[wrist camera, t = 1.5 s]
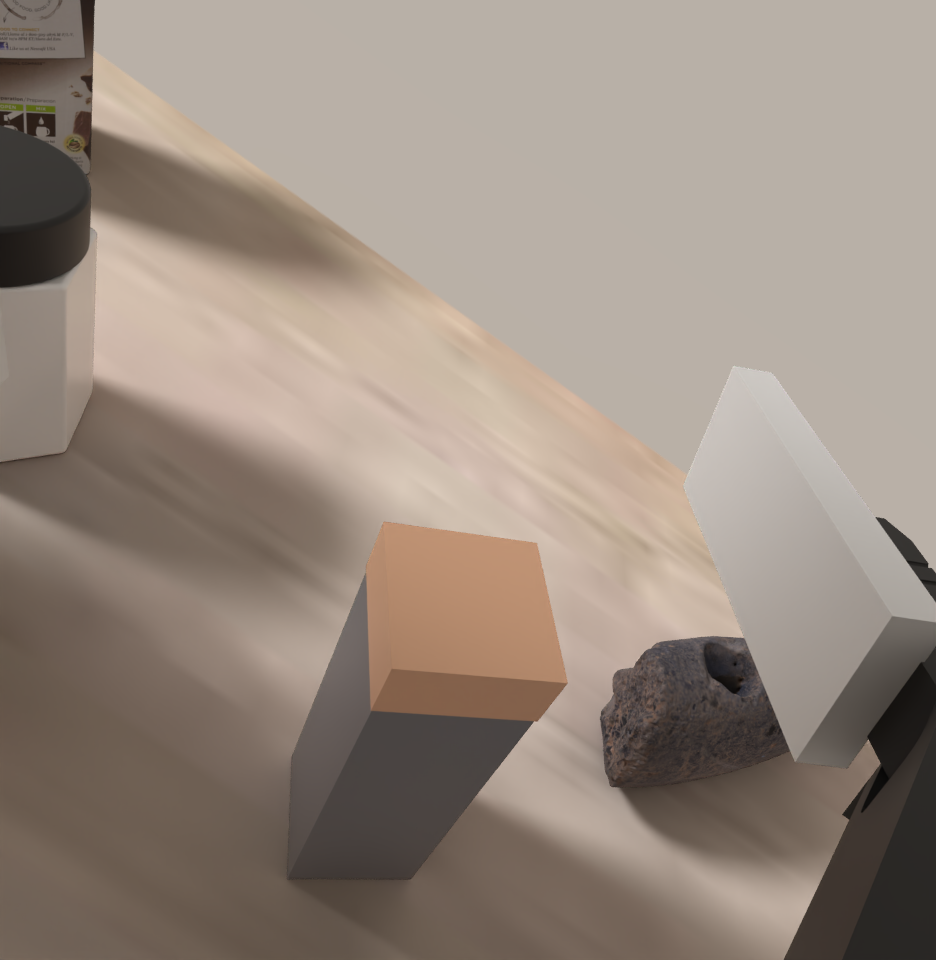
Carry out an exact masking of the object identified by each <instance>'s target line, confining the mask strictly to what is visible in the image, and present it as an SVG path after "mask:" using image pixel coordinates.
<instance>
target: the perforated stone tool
mask: <svg viewBox="0 0 936 960" xmlns="http://www.w3.org/2000/svg"><path fill="white" fill-rule="evenodd" d="M613 692H614V695H613V696H612V699H611V700H610V702H609V703H608V704H607V705H606V706H605V707H604V709H603V710H602V711H601V717H600V721H601V728H602V735H603V746H604V750H603V751H604V764H605V772H606V774H607V776H608V779H609V783H610V786H611V787H648V786H658V785H667V784H676V783H681V782H687V781H692V780H697V779H702V778H706V777H711V776H716V775H720V774H724V773H728V772H732V771H735V770H738V769H742V768H745V767H749V766H752V765H754V764H758V763H760V762H763V761H766V760H769V759H771V758H774V757H776V756H779V755H781V754H784V753H786V752H789V751H790V749H789V747H788V744H787V742H786V739H785V737H784V734H783V732H782V729H781V727H780V724H779V722H778V719H777V717H776V715H775V712H774V710H773V707H772V705H771V702H770V700H769V697H768V695H767V692H766V690H765V687H764V685H763V682H762V680H761V678H760V675H759V673H758V670H757V668H756V665H755V663H754V660H753V658H752V655H751V653H750V650H749V648H748V645H747V643H746V641H745V638H733V637H718V636H710V637H698V638H690V639H681V640H672V641H664V642H660V643H656V644H655V645H654V646H653V647H652V648H651V649H648V650H646V651H645V652H644V653H643V654H642V655H641V657H640V658H639V660H638V661H637V662H636V664H635V667H634V668H629V669H621V670H618V671H617V672H616V673H615V674H614V677H613Z"/></svg>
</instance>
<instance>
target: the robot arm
mask: <svg viewBox="0 0 936 960" xmlns="http://www.w3.org/2000/svg"><path fill="white" fill-rule="evenodd" d="M8 377H9V370H8V363H7V355H6V347H5V339H4V332H3V324H2V316H1V309H0V385H1V384H2V383H3V382H4V381H5V380H6V379H7V378H8ZM683 488H684V490H685V492H686V495H687V497H688V500H689V502H690V505H691V507H692V510H693V512H694V515H695V517H696V520H697V522H698V525H699V527H700V529H701V532H702V534H703V537H704V539H705V542H706V544H707V547H708V549H709V552H710V554H711V557H712V559H713V562H714V564H715V566H716V569H717V571H718V574H719V576H720V579H721V581H722V584H723V586H724V589H725V591H726V594H727V596H728V599H729V601H730V604H731V606H732V608H733V611H734V613H735V616H736V618H737V621H738V623H739V626H740V628H741V631H742V633H743V636H744V638H745V641H746V643H747V645H748V648H749V650H750V653H751V655H752V658H753V660H754V663H755V665H756V668H757V670H758V673H759V675H760V678H761V680H762V682H763V685H764V687H765V690H766V692H767V695H768V697H769V700H770V702H771V705H772V707H773V710H774V712H775V715H776V717H777V719H778V722H779V724H780V727H781V729H782V732H783V734H784V737H785V739H786V742H787V744H788V747H789V749H790V752H791V754H792V756H793V759H794V761H795V762H797V763H806V764H814V765H822V766H830V767H838V768H846V769H847V768H848V766H849V765H850V764H851V762H852V761H853V760H854V758H855V757H856V755H857V754H858V753H859V751H860V750H861V749H862V747H863V746H864V744H865V743H866V742H867V740H868V739H869V741H870V743H871V745H872V747H873V749H874V751H875V753H876V755H877V757H878V759H879V761H880V763H881V764H880V766H879V767H878V768H877V770H876V771H875V772H874V774H873V775H872V776H871V778H870V779H869V780H868V782H867V783H866V784H865V785H864V787H863V788H862V789H861V791H860V792H859V793H858V795H857V796H856V797H855V799H854V800H853V801H852V803H851V804H850V805H849V806H848V808H847V809H846V810H845V812H844V813H843V814H842V815H844V816H845V817H846V818H848V819H849V822H848V824H847V827H846V829H845V831H844V833H843V835H842V837H841V839H840V841H839V844H838V846H837V848H836V850H835V852H834V854H833V856H832V858H831V861H830V863H829V865H828V867H827V869H826V871H825V873H824V875H823V878H822V880H821V882H820V884H819V886H818V888H817V890H816V892H815V895H814V897H813V899H812V901H811V903H810V905H809V907H808V909H807V912H806V914H805V916H804V918H803V920H802V922H801V924H800V926H799V929H798V931H797V933H796V935H795V937H794V939H793V941H792V943H791V946H790V948H789V950H788V952H787V954H786V956H785V958H784V960H936V573H935V572H934V570H933V569H932V568H928V562H927V561H926V560H925V558H924V557H923V556H922V554H921V553H920V552H919V550H918V549H917V548H916V546H915V545H914V543H913V542H912V541H911V540H910V539H909V538H907V537H906V536H905V535H904V534H903V533H901V532H900V531H899V530H898V529H897V528H895V527H894V526H893V525H891V524H890V523H889V522H888V521H887V520H886V519H884V518H877V517H875V516H874V515H873V514H872V512H871V511H870V509H869V508H868V507H867V505H866V504H865V502H864V501H863V500H862V498H861V497H860V496H859V494H858V493H857V491H856V490H855V488H854V487H853V486H852V484H851V483H850V481H849V480H848V479H847V478H846V476H845V475H844V473H843V472H842V470H841V469H840V467H839V466H838V465H837V463H836V462H835V460H834V459H833V457H832V456H831V455H830V453H829V452H828V451H827V449H826V448H825V446H824V445H823V443H822V442H821V441H820V439H819V438H818V436H817V435H816V434H815V432H814V431H813V430H812V428H811V427H810V425H809V424H808V422H807V421H806V420H805V418H804V417H803V415H802V414H801V413H800V411H799V410H798V408H797V407H796V406H795V404H794V403H793V401H792V400H791V399H790V397H789V396H788V394H787V393H786V391H785V390H784V389H783V387H782V386H781V385H780V383H779V382H778V380H777V379H776V377H775V376H774V375H773V373H770V372H765V371H759V370H754V369H748V368H743V367H737V366H733V368H732V371H731V373H730V375H729V378H728V380H727V383H726V385H725V387H724V390H723V392H722V394H721V397H720V399H719V402H718V404H717V406H716V409H715V411H714V414H713V416H712V418H711V421H710V423H709V425H708V428H707V430H706V432H705V435H704V437H703V440H702V442H701V445H700V447H699V449H698V452H697V454H696V457H695V459H694V461H693V464H692V466H691V468H690V471H689V473H688V475H687V478H686V480H685V482H684V485H683Z"/></svg>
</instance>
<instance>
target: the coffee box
mask: <svg viewBox="0 0 936 960" xmlns="http://www.w3.org/2000/svg"><path fill="white" fill-rule="evenodd" d="M94 5H95V0H0V126H4V127H8V128H11V129H14V130H17V131H21V132H23V133H26V134H29V135H31V136H34V137H36V138H38V139H41V140H43V141H45V142H47V143H49V144H51V145H52V146H54V147H56V148H58V149H59V150H61V151H62V152H64V153H65V154H67V155H68V156H69V157H70V158H72V159H73V160H74V161H75V162H76V163H77V164H78V165H79V166H80V167H81V169H82V170H83V171H84V173H85V174H88V173H89V172H90V157H91V122H92V82H93V43H94V42H93V41H94Z"/></svg>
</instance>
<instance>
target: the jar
mask: <svg viewBox="0 0 936 960" xmlns="http://www.w3.org/2000/svg"><path fill="white" fill-rule="evenodd" d="M90 213H91V188H90V183H89V180H88V178H87V176H86V174H85V173H84V171H83V170H82V169H81V167H80V166H79V165H78V164H77V163H76V162H75V161H74V160H73V159H72V158H70V157H69V156H68V155H67V154H65V153H64V152H62V151H61V150H59V149H58V148H56V147H54V146H52V145H51V144H49V143H47V142H45V141H43V140H41V139H38V138H36V137H34V136H31V135H29V134H26V133H23V132H21V131H17V130H14V129H11V128H8V127H4V126H0V309H1V316H2V324H3V332H4V339H5V347H6V355H7V363H8V370H9V377H8V378H7V379H6V380H5V381H4V382H3V383H2V384H1V385H0V462H4V461H11V460H17V459H24V458H31V457H38V456H45V455H52V454H58V453H63V452H65V451H66V450H67V448H68V445H69V443H70V441H71V439H72V436H73V434H74V432H75V430H76V427H77V425H78V423H79V421H80V418H81V416H82V414H83V412H84V410H85V407H86V405H87V403H88V401H89V398H90V396H91V394H92V391H93V360H94V327H95V294H96V261H97V232H96V231H95V230H94V229H92V228H91V227H90Z"/></svg>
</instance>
